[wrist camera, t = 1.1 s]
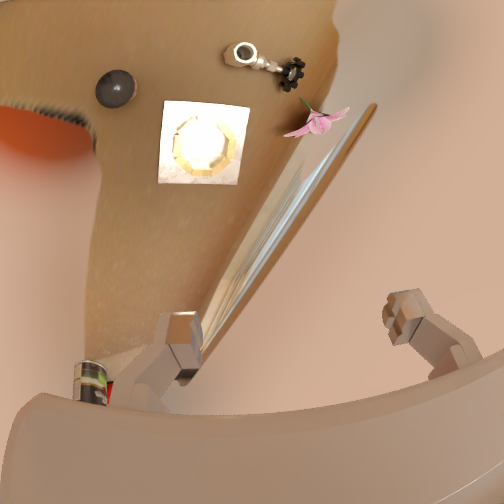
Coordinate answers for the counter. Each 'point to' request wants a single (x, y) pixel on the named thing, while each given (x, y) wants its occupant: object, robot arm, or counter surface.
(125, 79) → the black-capped jar
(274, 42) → the counter surface
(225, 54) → the valve
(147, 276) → the counter surface
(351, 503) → the robot arm
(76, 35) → the counter surface
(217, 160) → the flange
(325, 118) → the lily
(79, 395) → the coffee can
